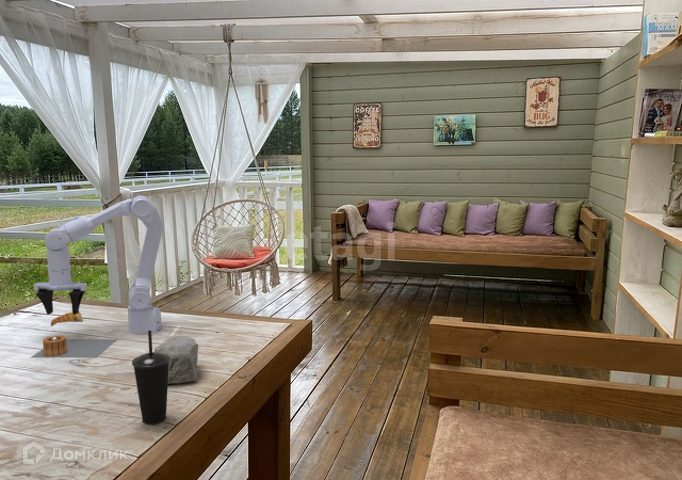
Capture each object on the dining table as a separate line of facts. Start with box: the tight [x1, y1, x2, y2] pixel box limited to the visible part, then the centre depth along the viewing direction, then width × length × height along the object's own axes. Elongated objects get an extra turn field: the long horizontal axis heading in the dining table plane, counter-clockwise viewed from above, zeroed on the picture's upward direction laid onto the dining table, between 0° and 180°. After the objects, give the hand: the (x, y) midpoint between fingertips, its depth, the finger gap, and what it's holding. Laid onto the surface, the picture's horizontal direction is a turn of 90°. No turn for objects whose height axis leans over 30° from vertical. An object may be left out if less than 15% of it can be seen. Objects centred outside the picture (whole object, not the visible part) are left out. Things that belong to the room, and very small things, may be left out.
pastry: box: [50, 311, 84, 327], centre depth 172 cm, size 9×7×4 cm
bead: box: [42, 334, 67, 356], centre depth 142 cm, size 6×6×4 cm
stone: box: [153, 335, 199, 385], centre depth 131 cm, size 13×12×10 cm
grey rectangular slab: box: [30, 338, 118, 359], centre depth 146 cm, size 18×14×2 cm
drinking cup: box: [131, 330, 170, 426], centre depth 109 cm, size 8×8×20 cm
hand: (62, 313), depth 152 cm, fingers open, 7 cm apart
